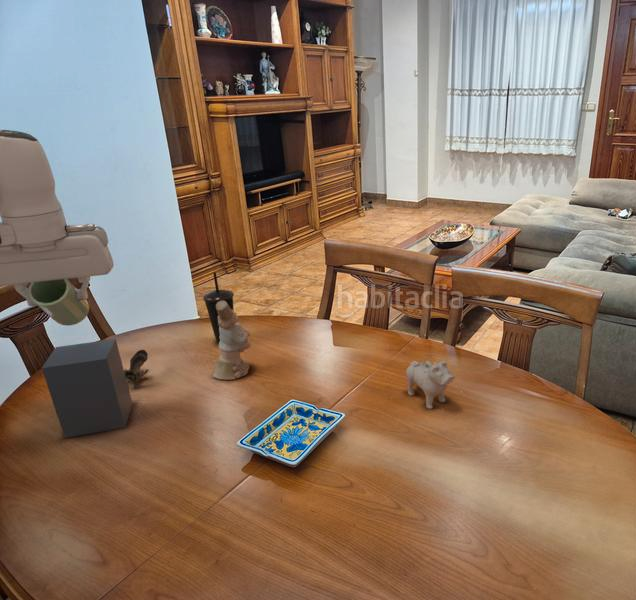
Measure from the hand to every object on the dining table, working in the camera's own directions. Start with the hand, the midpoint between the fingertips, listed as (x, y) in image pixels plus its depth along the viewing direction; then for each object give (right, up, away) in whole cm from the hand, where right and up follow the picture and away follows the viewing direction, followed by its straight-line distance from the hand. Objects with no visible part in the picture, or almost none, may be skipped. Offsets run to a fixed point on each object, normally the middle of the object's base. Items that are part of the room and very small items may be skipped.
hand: (59, 302), depth 94 cm
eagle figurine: (0, -19, +28) cm, 34 cm away
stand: (0, -25, +13) cm, 28 cm away
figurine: (+22, -17, +30) cm, 41 cm away
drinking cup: (+15, -11, +46) cm, 49 cm away
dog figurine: (+69, -21, +18) cm, 75 cm away
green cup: (-1, -2, +5) cm, 5 cm away
